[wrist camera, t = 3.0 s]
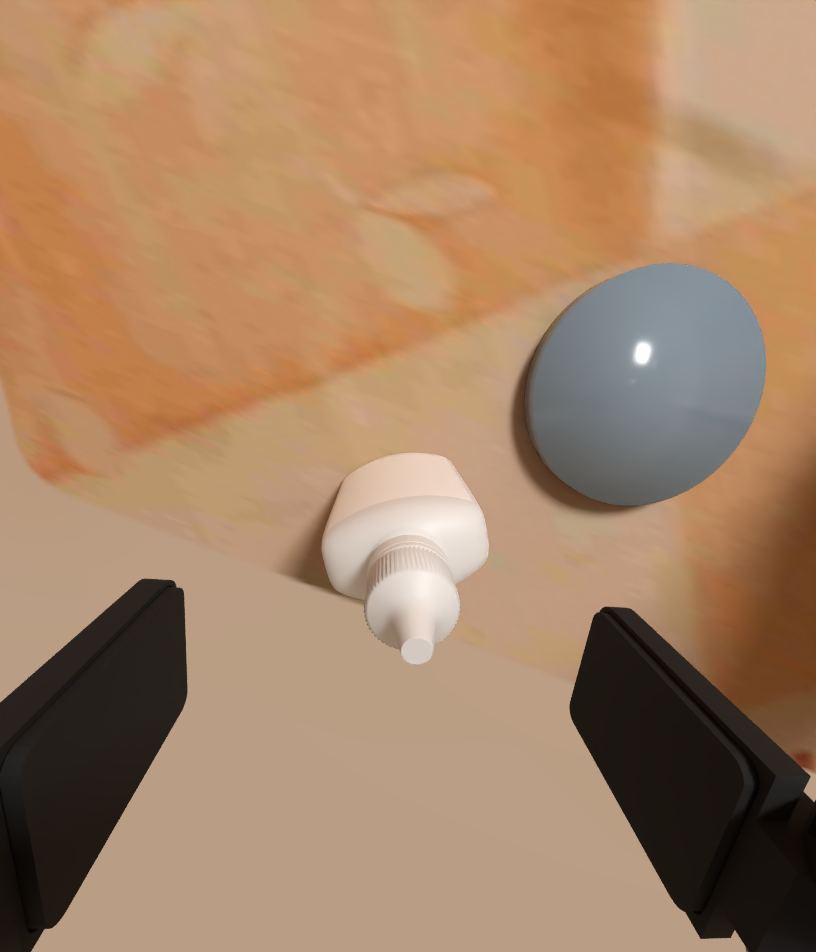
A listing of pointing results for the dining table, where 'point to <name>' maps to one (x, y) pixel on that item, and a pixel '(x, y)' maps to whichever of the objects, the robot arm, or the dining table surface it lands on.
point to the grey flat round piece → (645, 384)
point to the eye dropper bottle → (405, 547)
